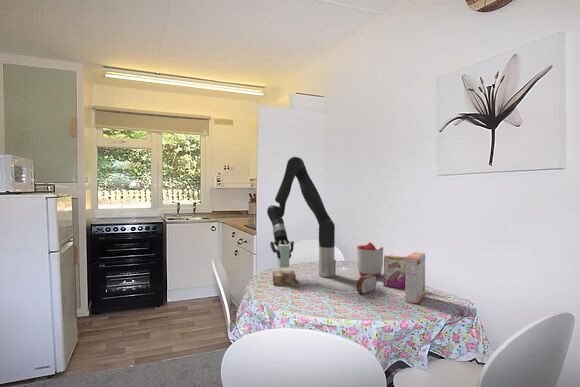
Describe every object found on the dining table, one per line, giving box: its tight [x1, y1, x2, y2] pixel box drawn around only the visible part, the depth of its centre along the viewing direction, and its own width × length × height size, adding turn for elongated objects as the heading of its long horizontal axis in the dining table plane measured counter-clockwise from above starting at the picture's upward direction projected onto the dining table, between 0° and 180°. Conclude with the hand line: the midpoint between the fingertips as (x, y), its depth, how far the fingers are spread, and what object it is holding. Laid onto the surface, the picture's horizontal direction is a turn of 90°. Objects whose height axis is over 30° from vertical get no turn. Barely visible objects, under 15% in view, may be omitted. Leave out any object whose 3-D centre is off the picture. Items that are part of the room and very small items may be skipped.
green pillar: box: [277, 244, 291, 269], centre depth 185 cm, size 5×5×12 cm
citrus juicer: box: [356, 241, 384, 278], centre depth 200 cm, size 16×17×20 cm
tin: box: [356, 274, 378, 295], centre depth 168 cm, size 15×3×8 cm, turn 134°
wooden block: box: [272, 270, 297, 286], centre depth 185 cm, size 12×12×5 cm
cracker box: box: [404, 252, 426, 304], centre depth 158 cm, size 14×6×21 cm, turn 144°
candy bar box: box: [383, 254, 408, 289], centre depth 178 cm, size 11×5×16 cm, turn 65°
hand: (284, 257), depth 183 cm, fingers closed on green pillar, 5 cm apart
